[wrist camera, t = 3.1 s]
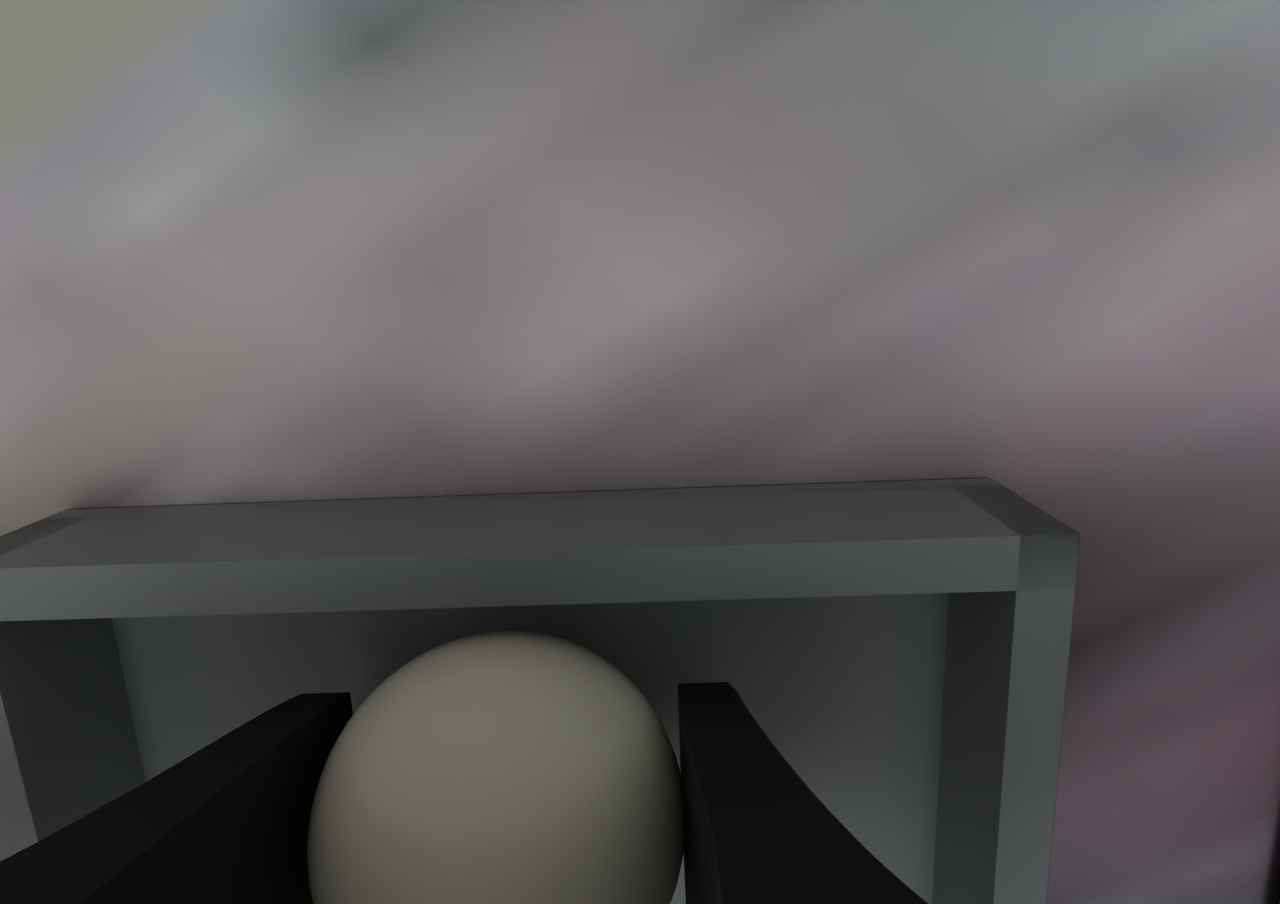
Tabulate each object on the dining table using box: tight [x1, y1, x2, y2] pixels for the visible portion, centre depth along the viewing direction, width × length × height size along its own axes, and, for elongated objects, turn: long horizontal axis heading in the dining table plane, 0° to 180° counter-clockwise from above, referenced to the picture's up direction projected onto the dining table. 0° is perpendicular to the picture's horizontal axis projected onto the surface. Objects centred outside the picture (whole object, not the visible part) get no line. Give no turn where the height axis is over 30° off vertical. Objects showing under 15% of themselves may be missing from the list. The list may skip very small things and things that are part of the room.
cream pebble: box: [307, 631, 685, 904], centre depth 9 cm, size 4×4×4 cm
